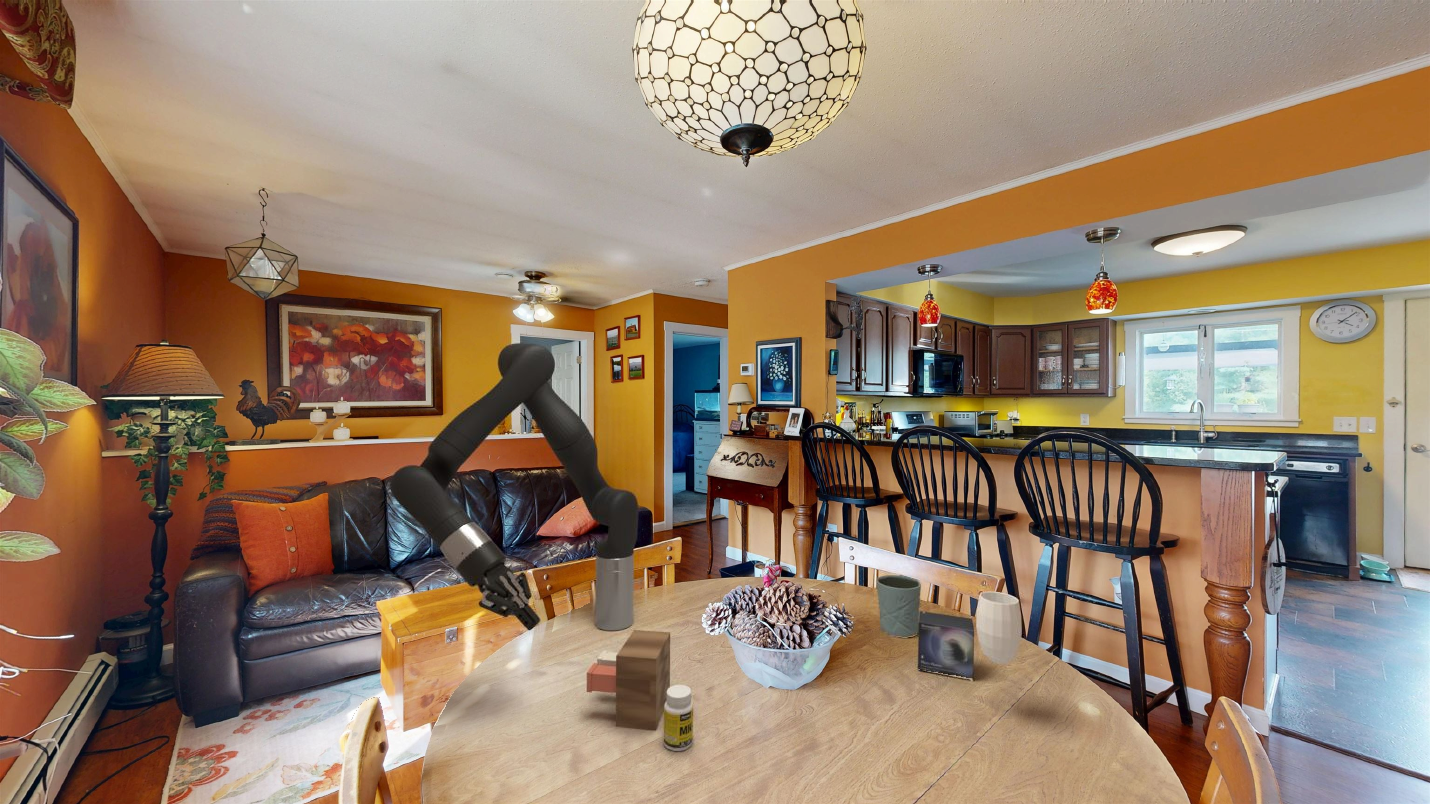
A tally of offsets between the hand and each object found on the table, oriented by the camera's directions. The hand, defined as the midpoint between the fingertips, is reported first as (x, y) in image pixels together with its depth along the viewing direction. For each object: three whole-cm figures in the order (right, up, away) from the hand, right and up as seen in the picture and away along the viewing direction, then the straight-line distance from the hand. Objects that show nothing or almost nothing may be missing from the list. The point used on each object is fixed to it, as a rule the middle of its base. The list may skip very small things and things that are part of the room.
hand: (535, 625), depth 96 cm
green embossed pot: (+77, -16, +34) cm, 85 cm away
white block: (+15, -10, +3) cm, 18 cm away
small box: (+80, -16, +15) cm, 83 cm away
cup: (+83, -16, 0) cm, 84 cm away
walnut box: (+19, -15, 0) cm, 25 cm away
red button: (+14, -10, -2) cm, 17 cm away
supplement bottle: (+26, -15, -9) cm, 32 cm away
